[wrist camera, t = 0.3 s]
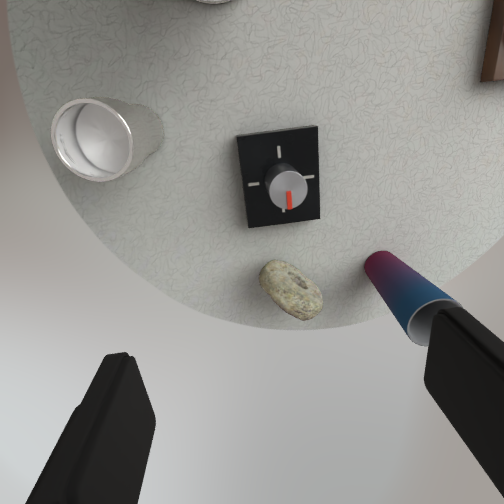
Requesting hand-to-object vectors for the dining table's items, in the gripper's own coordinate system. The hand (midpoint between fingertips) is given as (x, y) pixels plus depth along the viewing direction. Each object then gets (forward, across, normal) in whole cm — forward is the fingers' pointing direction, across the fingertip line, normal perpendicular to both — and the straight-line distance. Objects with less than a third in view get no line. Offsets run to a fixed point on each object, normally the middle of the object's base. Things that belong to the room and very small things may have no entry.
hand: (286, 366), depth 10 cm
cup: (+36, -20, +17) cm, 45 cm away
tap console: (+36, -5, +1) cm, 36 cm away
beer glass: (+36, +12, -7) cm, 39 cm away
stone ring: (+36, -5, +16) cm, 40 cm away
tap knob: (+33, -5, +1) cm, 34 cm away
